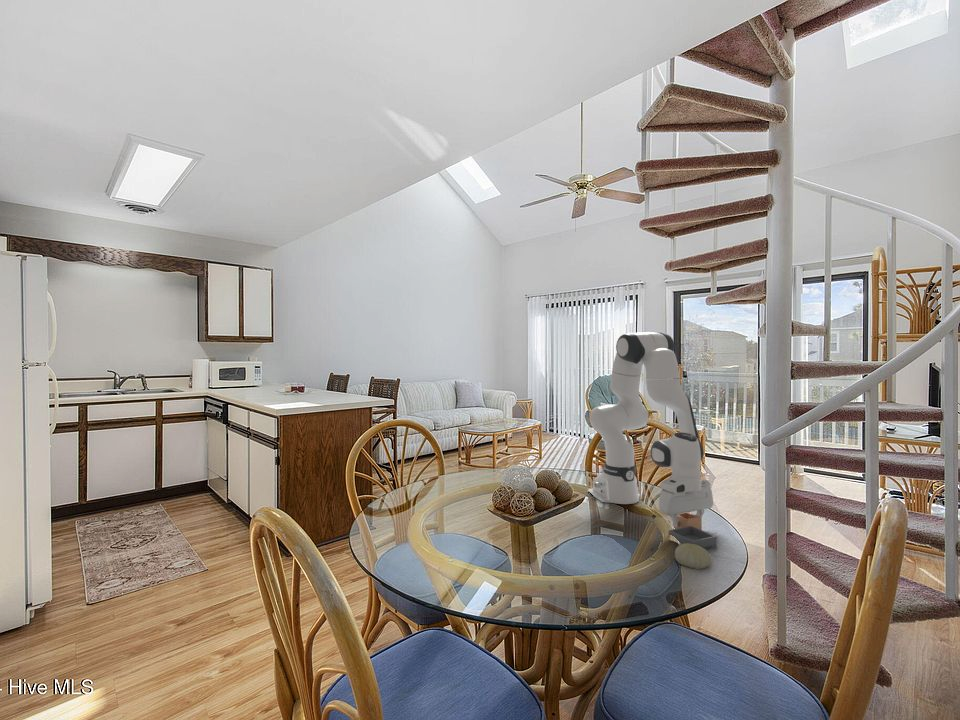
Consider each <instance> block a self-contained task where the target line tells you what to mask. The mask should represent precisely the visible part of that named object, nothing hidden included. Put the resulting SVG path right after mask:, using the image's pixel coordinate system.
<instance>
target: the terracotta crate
mask: <svg viewBox="0 0 960 720" xmlns="http://www.w3.org/2000/svg"><path fill="white" fill-rule="evenodd" d="M676 518H677V520H678V521H680V527H674V526H673V525H672V526H673V527H674V528H675V529H679V528H684V527H689V526H693V527H695V528H697V529H700V530H702V529H703V527H702V518H701V517H699V516H697V515H696V514H694V513H692V512H686V513H681V514H678V517H676ZM673 527H672V528H673ZM674 528H673V529H674ZM702 531H703V530H702Z"/></svg>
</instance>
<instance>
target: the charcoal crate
mask: <svg viewBox="0 0 960 720" xmlns="http://www.w3.org/2000/svg"><path fill="white" fill-rule="evenodd" d="M669 535H672V536H674V537H675V538H676V539H677V540H678V541H679V542H680V543H681V544H687V543H689V544H695V545H698V546H700V547H702V548H703V549H705V550H708V549H711V548H717V536H716V535H713V534H711V533H708V532H706V531H704V530H700V529H697V528H695V527H693V526H689V527H684V528H679V529H674V528H673V529H670V530H668V536H669Z"/></svg>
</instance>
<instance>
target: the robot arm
mask: <svg viewBox="0 0 960 720" xmlns="http://www.w3.org/2000/svg"><path fill="white" fill-rule="evenodd" d="M615 348H616V349H615V350H616V354H615V357H614V360H613V363H612V370H611V376H610V383H609V388H610V391H611V392H612V393H613V394H614V395H615V396H617V398H618V399H617V403H610V404H602V405H598V406H596V407H594V408H592V409H591V411H590V413H589V423H590V425H591V427H592V428H593V429H594V430H595V431H596V432H597V433H598V434H599V435H600V436H601V438H602V441H603V443H604V447H605V449H604V450H605V463H601V464H602V468H603V470H602V472H601V473H600V474H598V476H596V477H595V478H594V479H593V483H592V485H593V487H591V488H588V489H587V492H588V491H589V492H590V493H591V494H592V495H593V496H592V495H591V494H590V493H589V494H590V495H591V496H592V497H594V498H595V499H597V500H598V501H599V502H602V503H611V504H619V505H631V504H637V503H638V502H640V497H641V494H640V493H639V489H638V479H637V477H636V475H637V473H636V472H637V468H636V465H635V447H634V445H633V444H632V443H631V442H630V441H629V440H626V439H625V437H624V431H634V430H637V429H640V428H644V427H645V426H646V425H647V424H648V422H649V418H650V416H649V411H648V410H647V408H646V407H645V405H643V404H642V402H641V400H640V394H639V391H640V382H641V375H642V370H643V369H642V368H643V365H644V368H645V374H646V375H645V378H646V379H645V380H646V391H647V394H648V396H649V397H650V399H652V401H654V402H655V403H657V404H659V405H661V406H664V407H666V408H669V409H670V410H672V411H673V412H674V414H675V416H676V420H677V424H678V429H679V431H678V432H675V433H673V435H672V436H670V437H668V438H663V439H659V440H655V441H654V442H653V443H652V444H651V448H650V456H651V460H652V462H653V463H654V464H655V465H657V466H658V467H660V468H670V469H671V475H670V476H669V477H668V478H665V480H662V481H661V482H660V483H659V488H660V489H661V491H660V492H659V502H658V503H659V504H658V505H659V511H660V512H661V514H664V515H666V516H668V517H670V519H671V521H672V526H674V527H680V521H678V520H677V518H676V517H678V514H681V513H686V512H689V513H692V512H696V513H695V515H697V516H699V517H701V519H702V518H703V515H704V513H705V510H707V509H712V507H713V506H714V497H713V490H712V489H711V488H712V487H711V483H710V481H708V480H707V479H702V472H701V470H700V469H701V467H700V466H701V463H702V461H703V459H704V453H705V451H704V447H703V444H702V442H701V440H700V437H699V432H698V428H697V424H696V420H695V419H696V418H695V415H694V411H693V406H692V403H691V400H690V397H689V395H687V394H686V392H685V391H684V390H683V388H682V384H681V379H680V378H681V377H680V376H681V375H680V369H679V363H678V359H677V356H676V353H675V352H674V350H675V342H674V339H673V337H672V336H671V335H669V334H667V333H664V332H654V331H653V332H651V331H643V332H626V333H624V334H622V335H620V336H619V337H618V339H617V341H616V346H615Z"/></svg>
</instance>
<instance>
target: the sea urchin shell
mask: <svg viewBox="0 0 960 720" xmlns="http://www.w3.org/2000/svg"><path fill="white" fill-rule="evenodd" d="M674 558H675V560H676V562H678V564H680V565H681V564H682V565H683V566H685V567H688V568H691V569H696V570H700V569H701V570H702V569H705V568H708V567H709V566H710V565H711V564H712V562H713V561H712V559H713V558H712V556H711V554H710V552H708V551H707V549H703V548H702V547H700V546H698V545H695V544H689V543H687V544H681V545H678V546H677V547H675V551H674Z"/></svg>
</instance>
